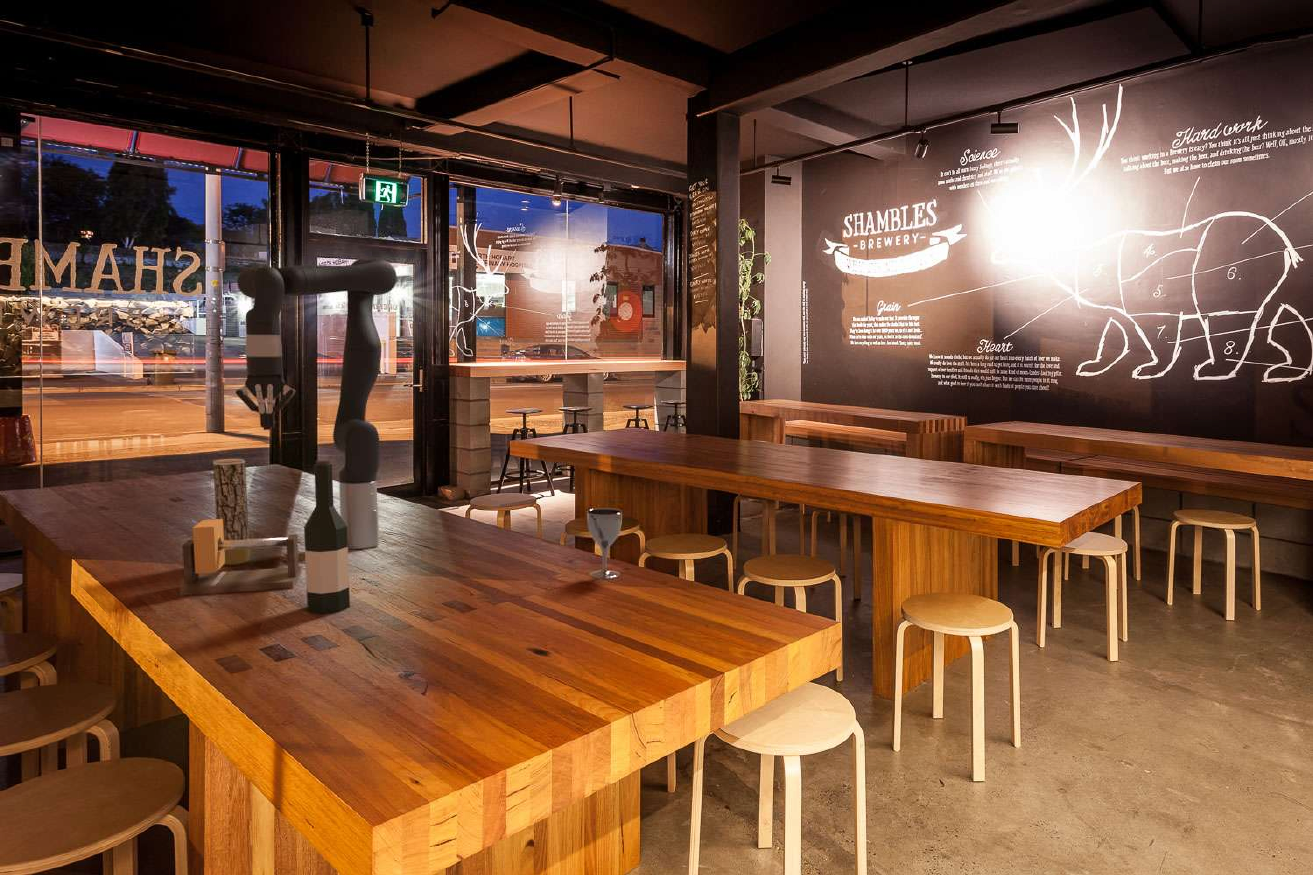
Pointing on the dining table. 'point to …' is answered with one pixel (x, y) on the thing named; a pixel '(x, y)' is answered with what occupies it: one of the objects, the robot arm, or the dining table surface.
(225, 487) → the bark log section
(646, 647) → the dining table surface
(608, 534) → the wine glass
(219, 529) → the collar
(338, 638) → the dining table surface
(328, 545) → the wine bottle
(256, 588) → the pipe stand
